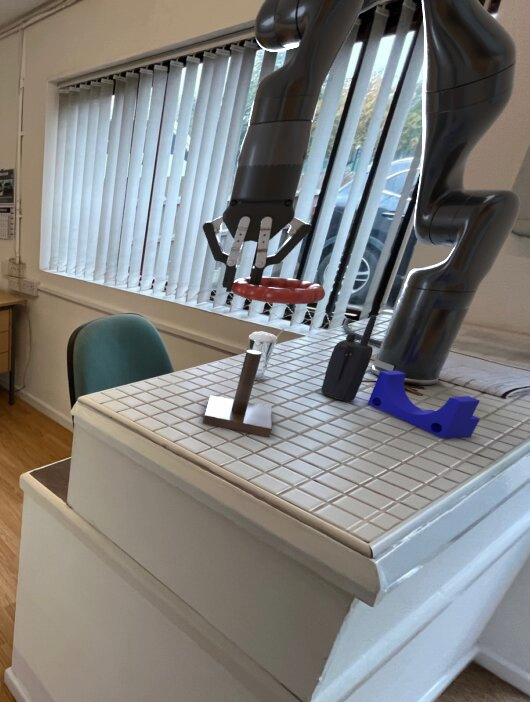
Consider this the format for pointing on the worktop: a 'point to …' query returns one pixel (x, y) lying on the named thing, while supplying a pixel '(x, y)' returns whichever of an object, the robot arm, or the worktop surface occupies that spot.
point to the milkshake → (262, 348)
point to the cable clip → (443, 422)
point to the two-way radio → (348, 365)
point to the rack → (241, 404)
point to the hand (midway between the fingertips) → (238, 291)
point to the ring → (279, 290)
